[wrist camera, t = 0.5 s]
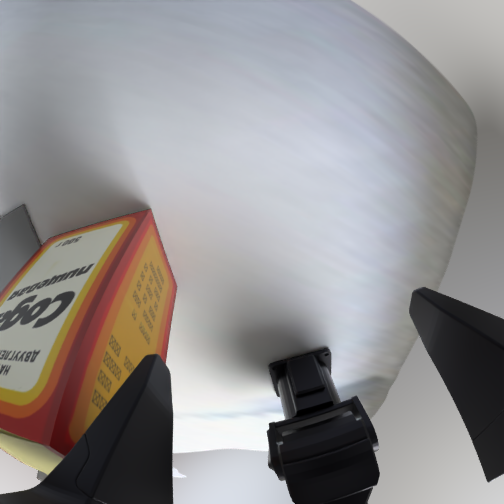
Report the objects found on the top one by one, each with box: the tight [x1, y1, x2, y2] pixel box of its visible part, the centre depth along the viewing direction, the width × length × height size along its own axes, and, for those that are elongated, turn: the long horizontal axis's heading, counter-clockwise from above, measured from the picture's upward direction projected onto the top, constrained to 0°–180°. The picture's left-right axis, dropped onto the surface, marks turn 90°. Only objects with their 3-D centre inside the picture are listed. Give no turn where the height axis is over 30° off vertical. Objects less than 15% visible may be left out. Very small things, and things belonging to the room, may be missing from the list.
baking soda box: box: [0, 209, 177, 475], centre depth 12 cm, size 10×6×16 cm
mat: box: [0, 204, 41, 293], centre depth 19 cm, size 14×16×1 cm
